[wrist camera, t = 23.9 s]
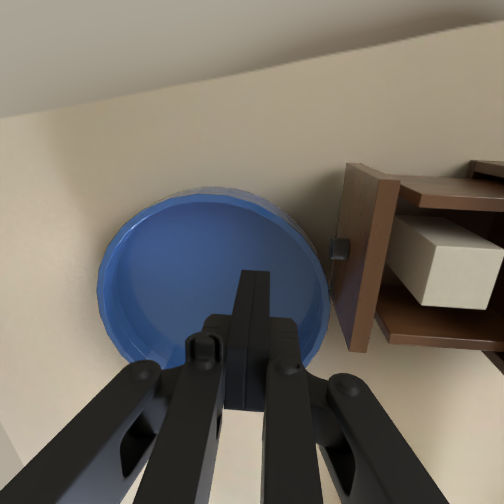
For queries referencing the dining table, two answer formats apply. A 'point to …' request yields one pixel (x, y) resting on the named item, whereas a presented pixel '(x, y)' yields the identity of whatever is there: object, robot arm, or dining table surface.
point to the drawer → (382, 276)
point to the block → (443, 262)
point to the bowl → (206, 272)
